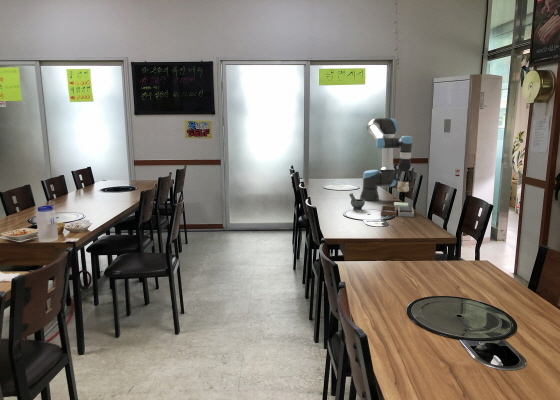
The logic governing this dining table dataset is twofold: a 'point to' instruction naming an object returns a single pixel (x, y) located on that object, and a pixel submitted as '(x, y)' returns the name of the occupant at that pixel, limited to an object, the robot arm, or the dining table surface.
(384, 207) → the tray walnut
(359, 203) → the mortar and pestle
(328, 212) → the dining table surface
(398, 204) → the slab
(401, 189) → the letter cube
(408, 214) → the tray grey
